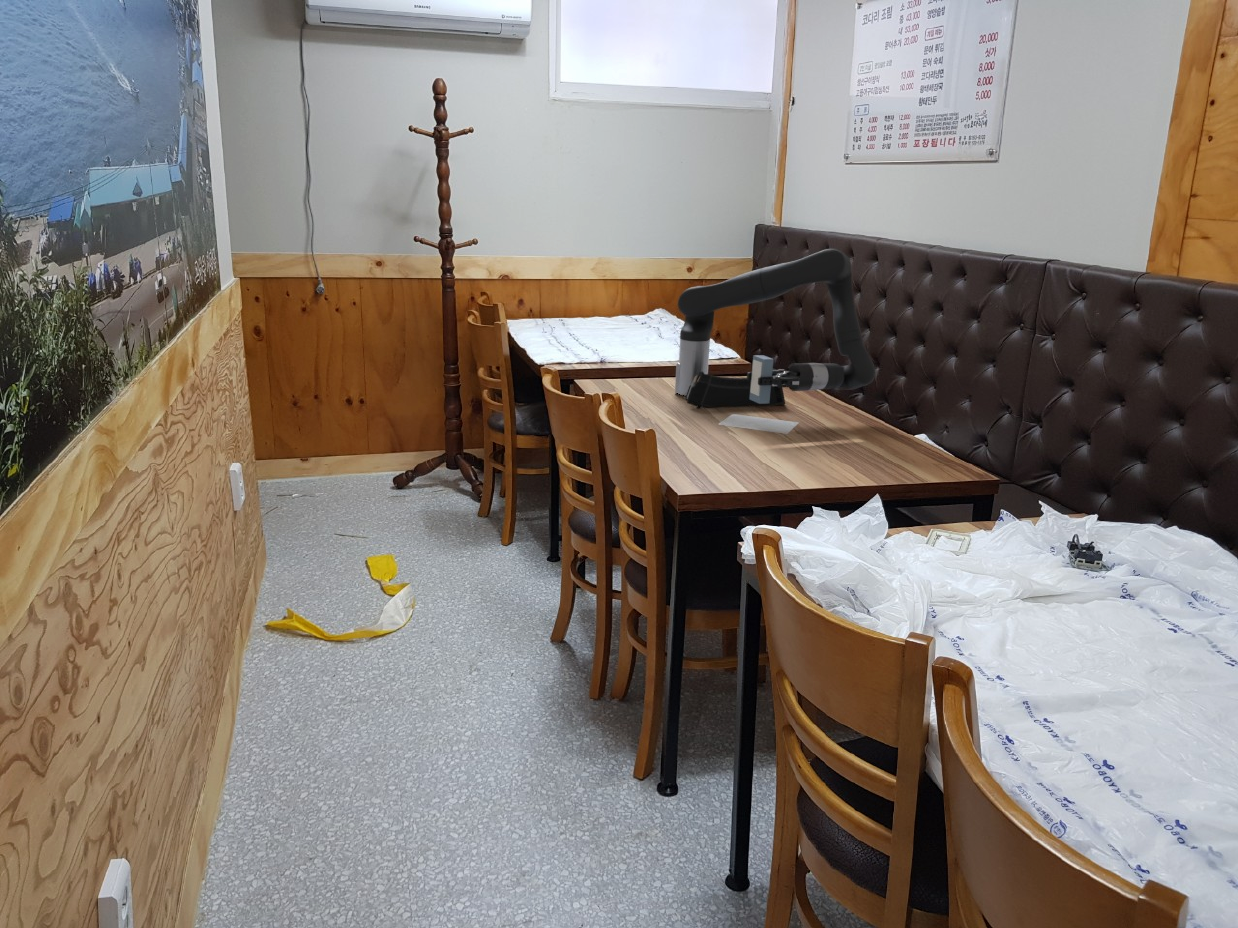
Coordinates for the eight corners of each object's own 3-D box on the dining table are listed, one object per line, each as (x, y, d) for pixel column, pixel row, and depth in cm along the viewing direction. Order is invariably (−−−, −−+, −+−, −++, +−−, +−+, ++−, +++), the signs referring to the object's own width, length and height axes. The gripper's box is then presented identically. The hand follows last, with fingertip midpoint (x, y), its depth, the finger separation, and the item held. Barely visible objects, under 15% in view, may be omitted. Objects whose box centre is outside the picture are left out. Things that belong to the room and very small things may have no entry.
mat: (717, 427, 238) (717, 424, 238) (732, 416, 251) (732, 413, 250) (786, 436, 231) (787, 433, 231) (798, 425, 244) (799, 422, 243)
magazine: (790, 376, 265) (701, 348, 255) (795, 378, 262) (705, 350, 252) (770, 430, 268) (682, 404, 259) (775, 432, 265) (685, 406, 256)
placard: (758, 403, 236) (763, 359, 233) (748, 399, 241) (752, 355, 237) (769, 403, 237) (773, 359, 234) (758, 398, 242) (763, 355, 239)
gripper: (794, 358, 248) (741, 360, 242) (823, 368, 235) (768, 370, 229) (791, 384, 250) (738, 386, 244) (820, 396, 237) (765, 398, 231)
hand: (753, 378), depth 236 cm, fingers closed on placard, 5 cm apart
